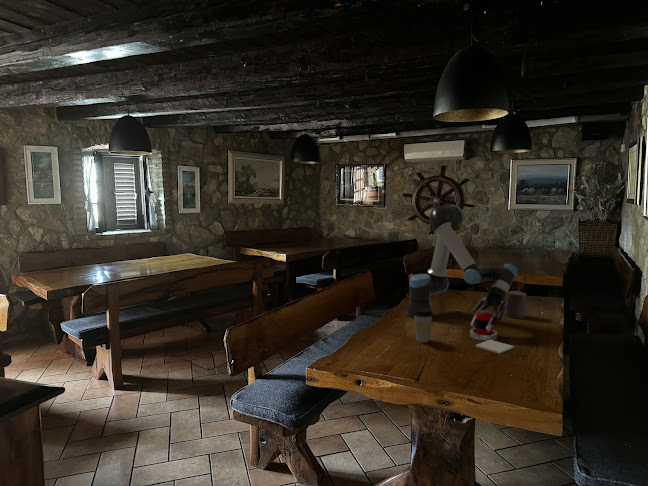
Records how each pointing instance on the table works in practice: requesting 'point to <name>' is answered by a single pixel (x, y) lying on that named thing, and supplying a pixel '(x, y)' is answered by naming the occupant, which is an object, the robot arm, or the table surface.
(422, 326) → the coffee cup
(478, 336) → the steel ring holder
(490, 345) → the cream coaster
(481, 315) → the soda can
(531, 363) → the table surface
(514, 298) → the pillar candle
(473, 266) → the robot arm
